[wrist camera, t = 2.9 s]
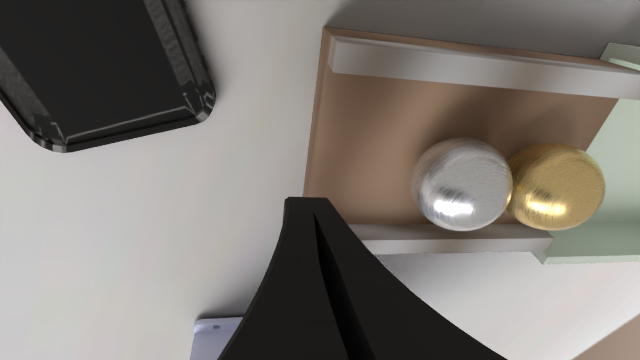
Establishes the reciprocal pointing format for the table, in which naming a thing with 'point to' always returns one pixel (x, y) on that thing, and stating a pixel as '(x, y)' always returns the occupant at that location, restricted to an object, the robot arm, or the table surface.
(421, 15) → the table surface
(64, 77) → the phone
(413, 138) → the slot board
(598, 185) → the brass ball
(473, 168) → the steel ball
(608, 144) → the sage tray
